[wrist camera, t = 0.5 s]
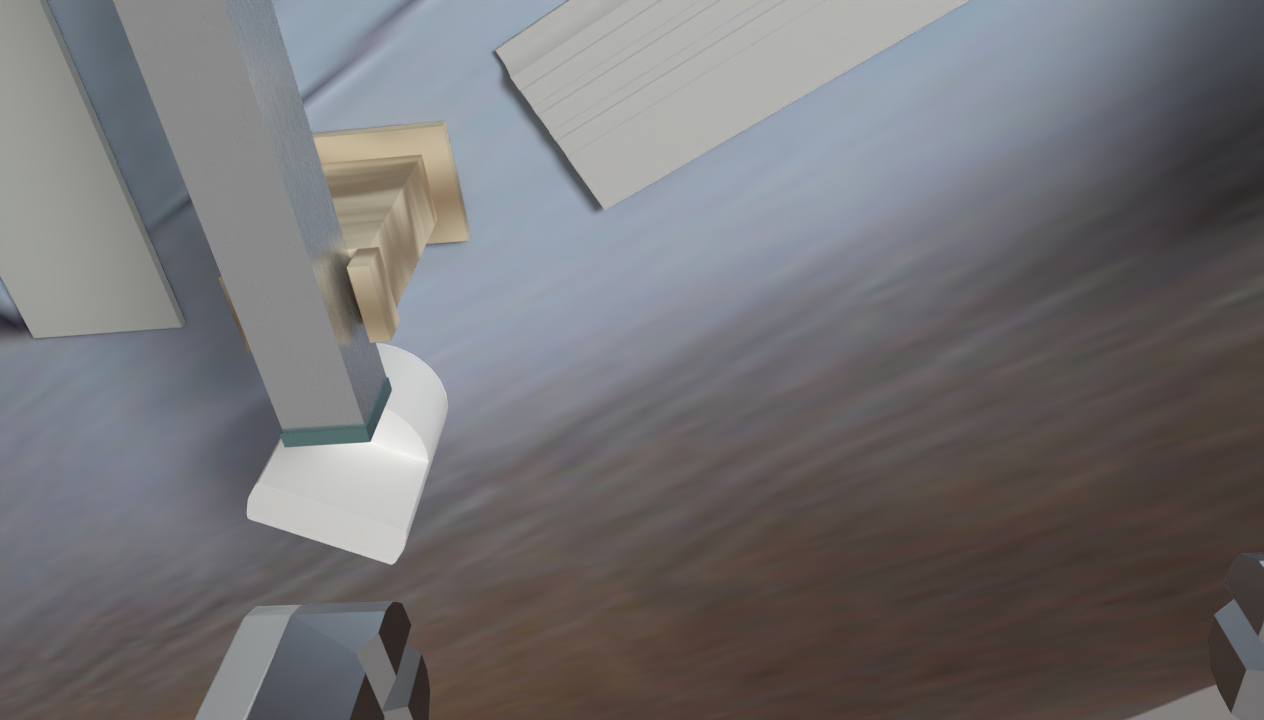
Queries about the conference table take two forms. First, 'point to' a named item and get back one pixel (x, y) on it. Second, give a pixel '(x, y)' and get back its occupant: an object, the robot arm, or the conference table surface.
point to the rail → (263, 207)
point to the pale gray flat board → (67, 197)
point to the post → (388, 210)
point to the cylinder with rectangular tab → (360, 471)
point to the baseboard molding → (686, 73)
